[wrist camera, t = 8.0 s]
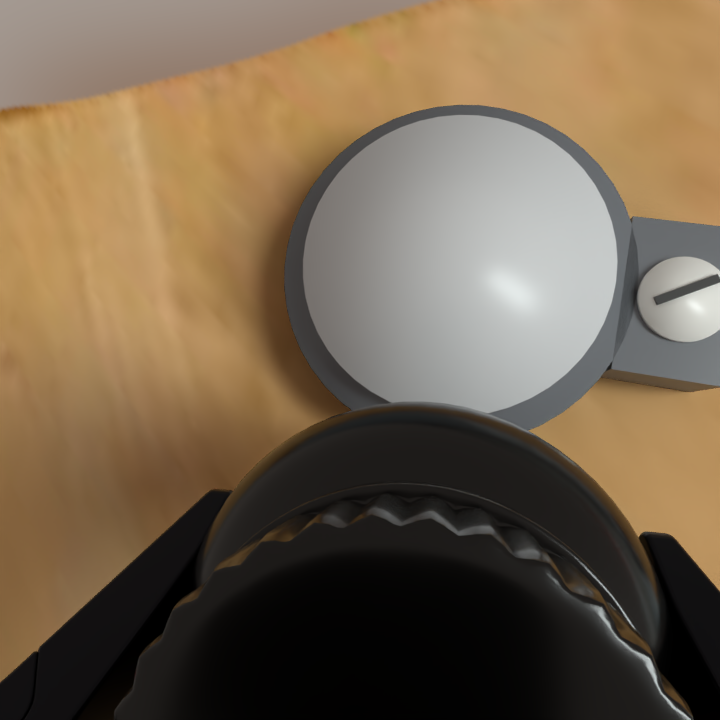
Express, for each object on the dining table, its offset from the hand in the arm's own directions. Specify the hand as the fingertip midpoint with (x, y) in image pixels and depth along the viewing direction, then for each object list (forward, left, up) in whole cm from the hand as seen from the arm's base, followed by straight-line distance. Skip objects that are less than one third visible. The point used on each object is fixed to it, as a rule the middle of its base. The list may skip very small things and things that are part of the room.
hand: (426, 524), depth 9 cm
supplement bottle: (-1, 0, -7) cm, 7 cm away
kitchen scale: (+8, -1, -13) cm, 15 cm away
